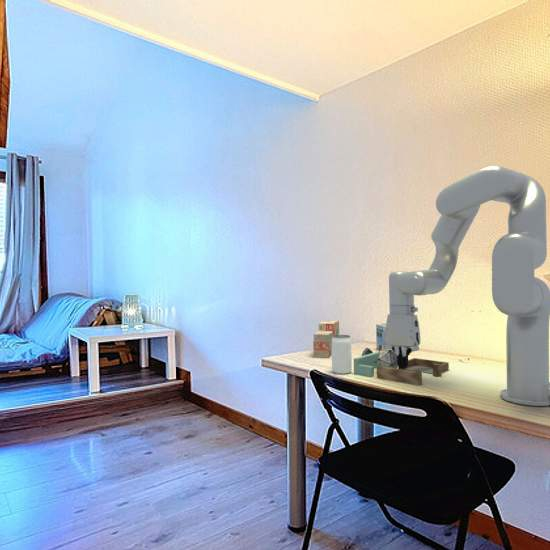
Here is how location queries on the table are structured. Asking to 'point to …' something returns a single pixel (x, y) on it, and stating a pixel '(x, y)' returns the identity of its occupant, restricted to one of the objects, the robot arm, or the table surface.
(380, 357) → the game die
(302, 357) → the table surface
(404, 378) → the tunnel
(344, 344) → the can
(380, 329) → the light bulb box
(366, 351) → the snack package
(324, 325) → the stack of blocks
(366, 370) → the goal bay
